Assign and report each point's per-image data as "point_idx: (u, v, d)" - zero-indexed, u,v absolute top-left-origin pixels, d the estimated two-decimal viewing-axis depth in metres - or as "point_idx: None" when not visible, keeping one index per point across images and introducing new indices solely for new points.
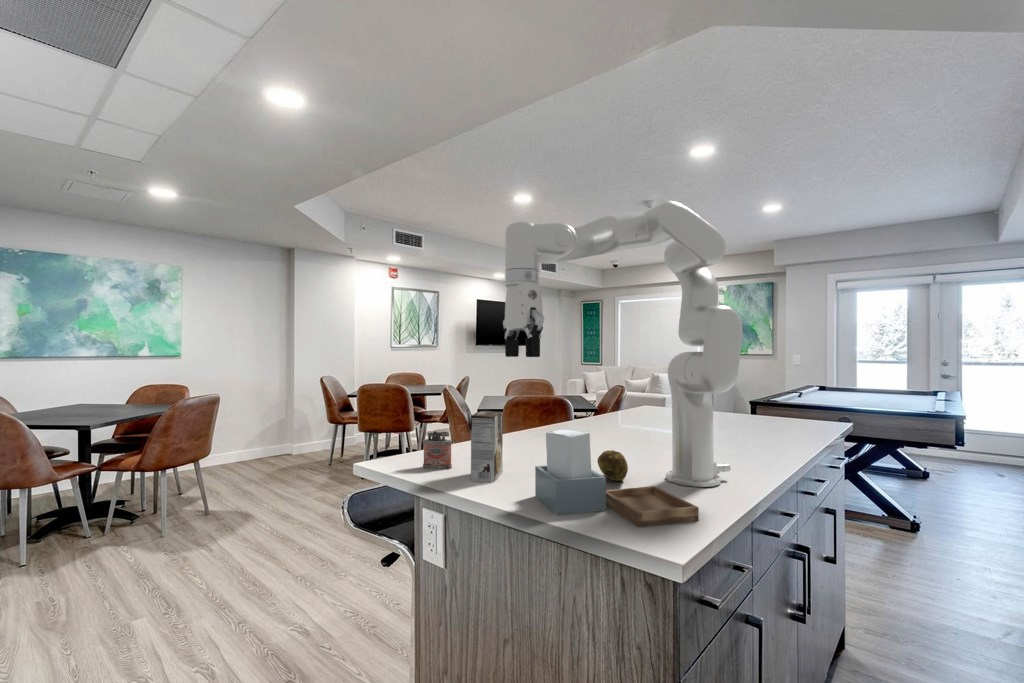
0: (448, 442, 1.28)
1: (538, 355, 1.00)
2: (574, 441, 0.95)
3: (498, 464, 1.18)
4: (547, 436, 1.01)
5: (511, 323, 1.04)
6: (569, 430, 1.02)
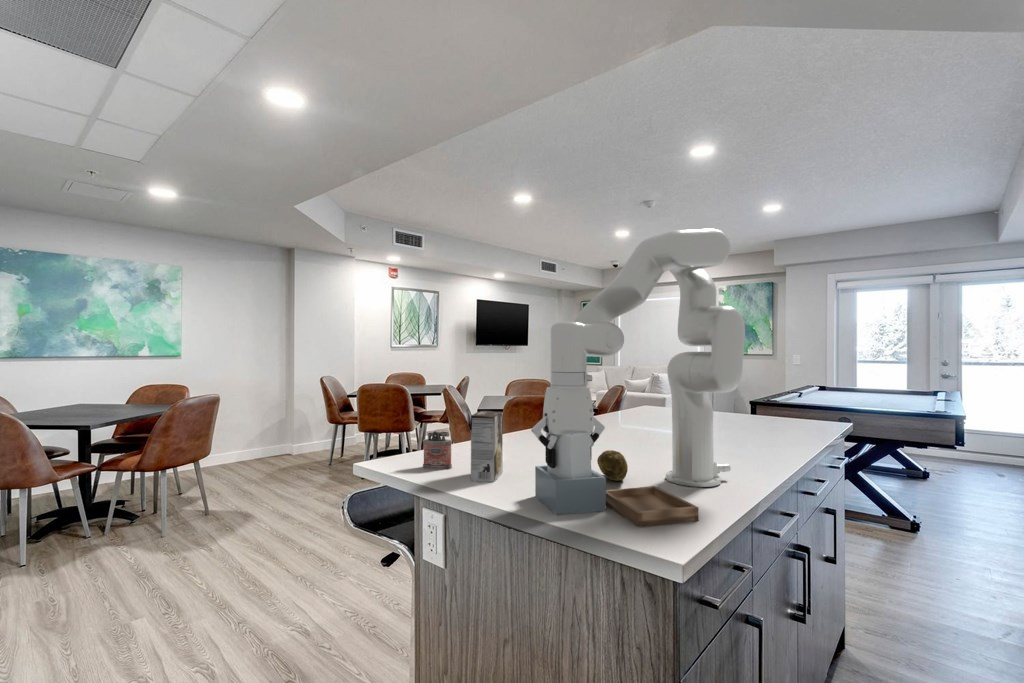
0: (448, 442, 1.28)
1: None
2: (574, 441, 0.95)
3: (498, 464, 1.18)
4: None
5: (568, 429, 0.97)
6: None
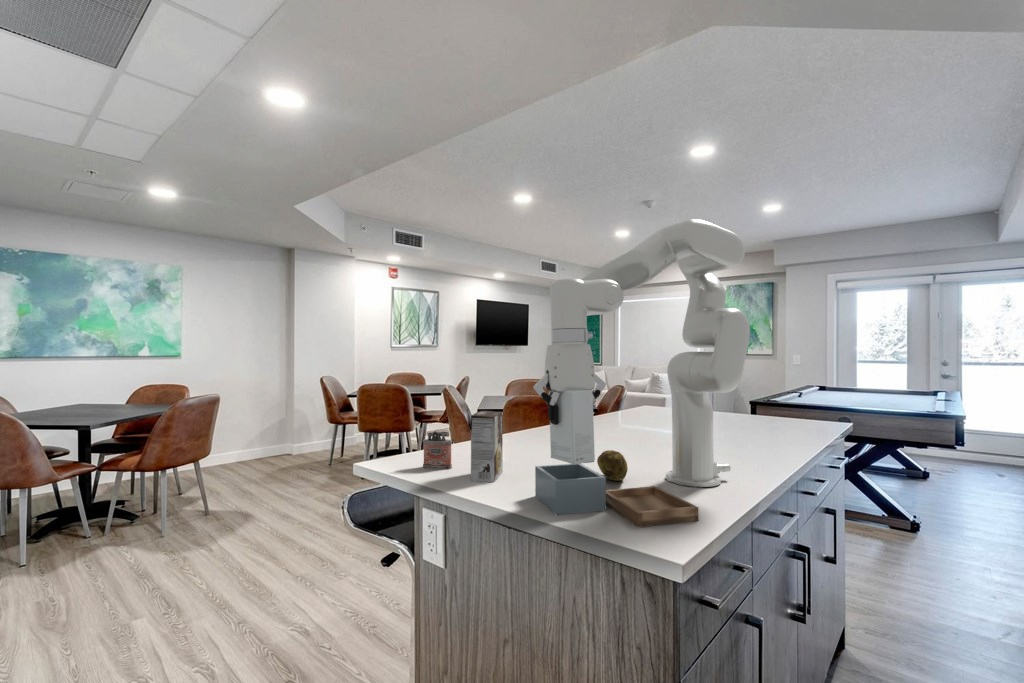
0: (448, 442, 1.28)
1: None
2: (576, 397, 0.95)
3: (498, 464, 1.18)
4: None
5: (570, 385, 0.97)
6: None
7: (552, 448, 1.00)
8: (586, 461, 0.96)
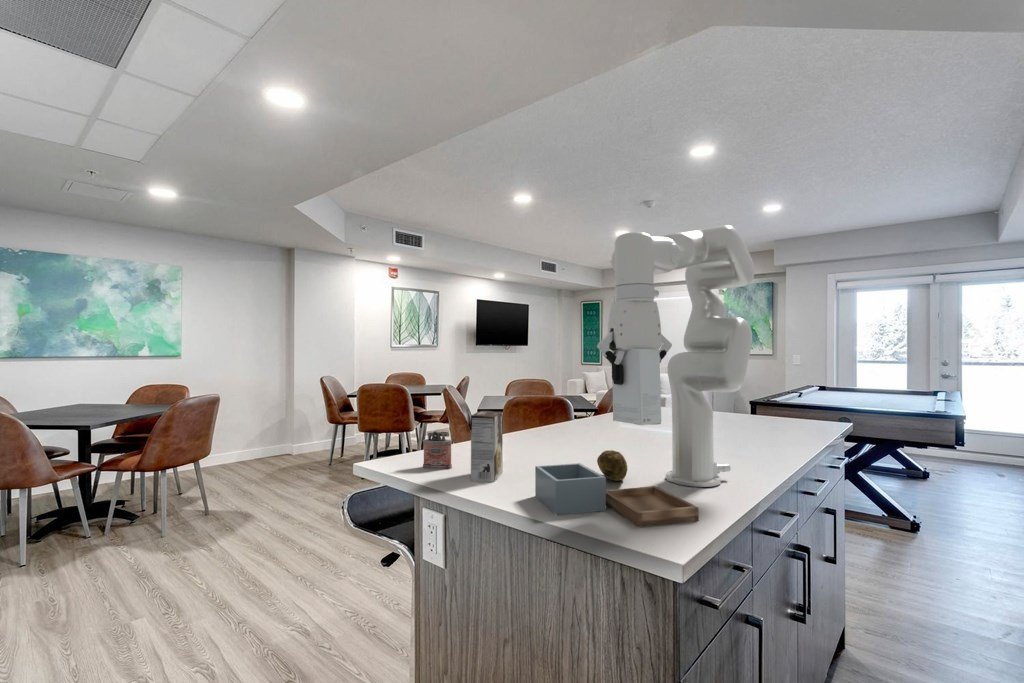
0: (448, 442, 1.28)
1: None
2: (644, 355, 0.91)
3: (498, 464, 1.18)
4: None
5: (636, 343, 0.93)
6: None
7: (615, 410, 0.96)
8: (653, 423, 0.92)
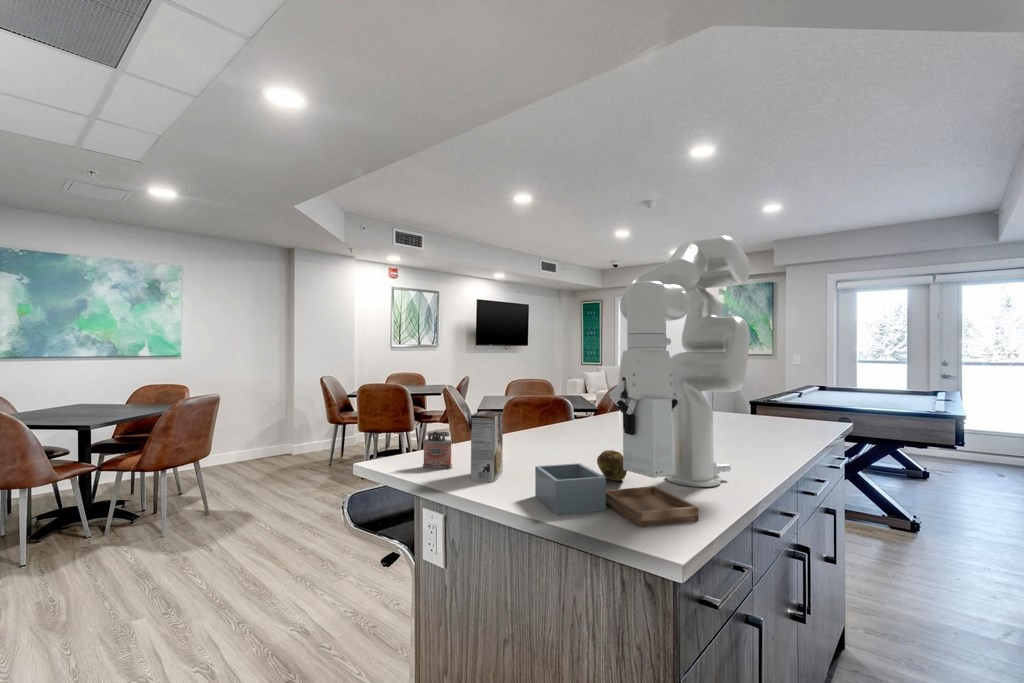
0: (448, 442, 1.28)
1: None
2: (657, 406, 0.90)
3: (498, 464, 1.18)
4: None
5: (648, 393, 0.92)
6: None
7: (625, 460, 0.95)
8: (665, 475, 0.90)
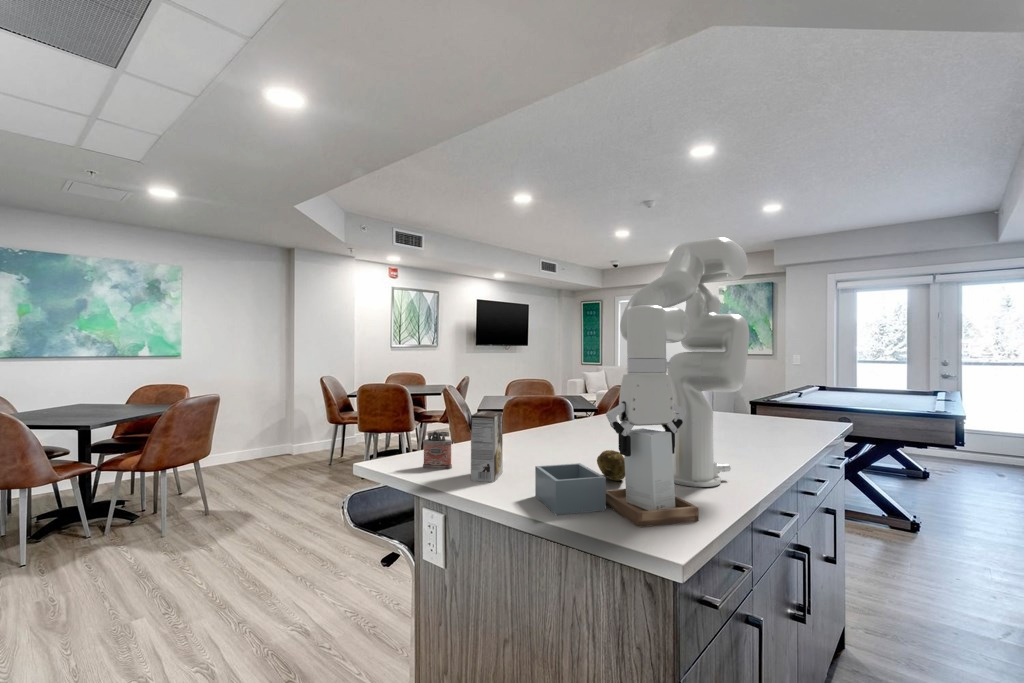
0: (448, 442, 1.28)
1: None
2: (655, 441, 0.90)
3: (498, 464, 1.18)
4: None
5: (648, 418, 0.92)
6: (648, 429, 0.97)
7: (628, 492, 0.95)
8: None
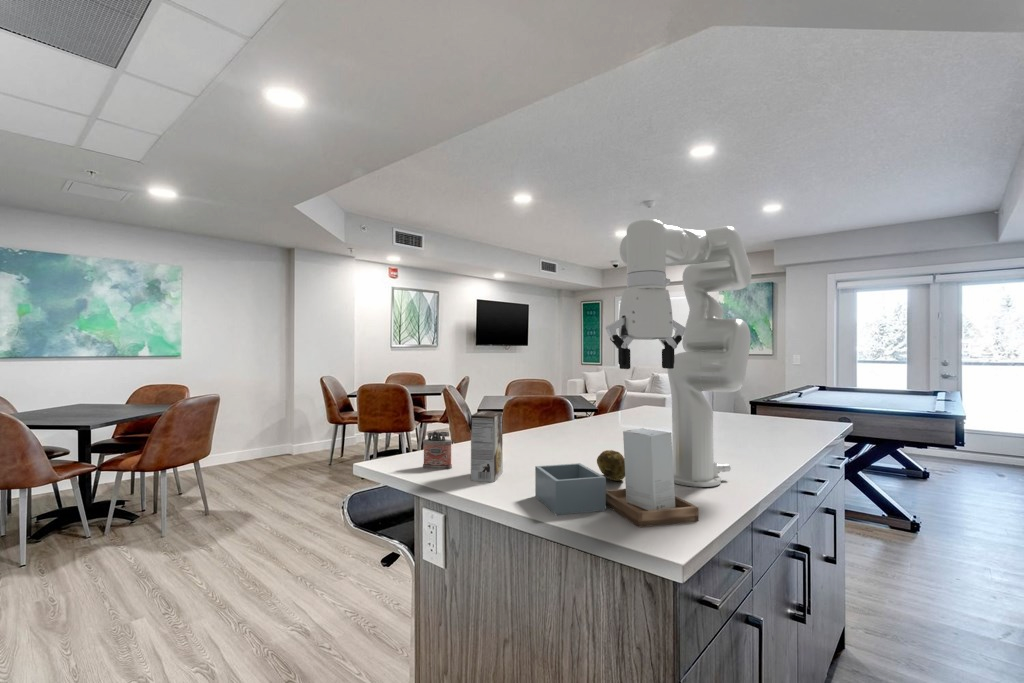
0: (448, 442, 1.28)
1: None
2: (655, 441, 0.90)
3: (498, 464, 1.18)
4: (625, 435, 0.96)
5: (648, 331, 0.92)
6: (648, 429, 0.97)
7: (628, 492, 0.95)
8: None
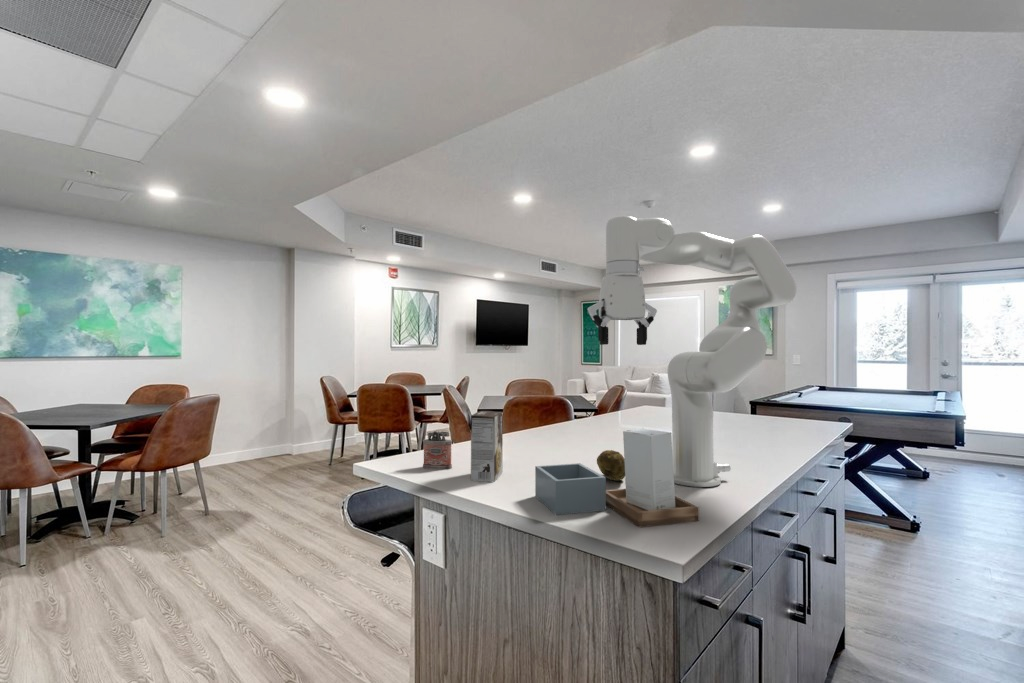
0: (448, 442, 1.28)
1: None
2: (655, 441, 0.90)
3: (498, 464, 1.18)
4: (625, 435, 0.96)
5: (624, 312, 1.08)
6: (648, 429, 0.97)
7: (628, 492, 0.95)
8: None
